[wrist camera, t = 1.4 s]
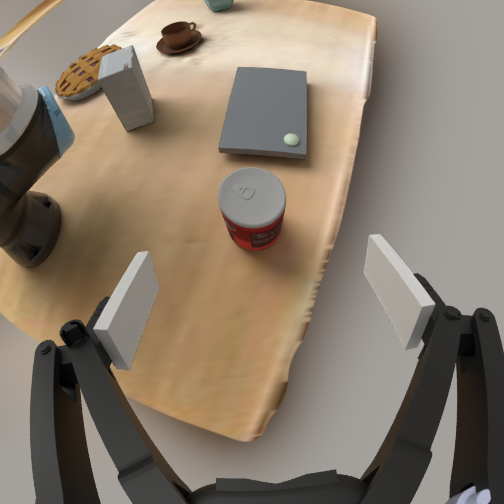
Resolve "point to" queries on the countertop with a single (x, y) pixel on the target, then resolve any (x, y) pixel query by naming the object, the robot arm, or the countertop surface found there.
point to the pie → (83, 75)
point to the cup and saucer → (178, 37)
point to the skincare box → (126, 88)
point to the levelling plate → (266, 113)
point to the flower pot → (218, 4)
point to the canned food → (252, 207)
